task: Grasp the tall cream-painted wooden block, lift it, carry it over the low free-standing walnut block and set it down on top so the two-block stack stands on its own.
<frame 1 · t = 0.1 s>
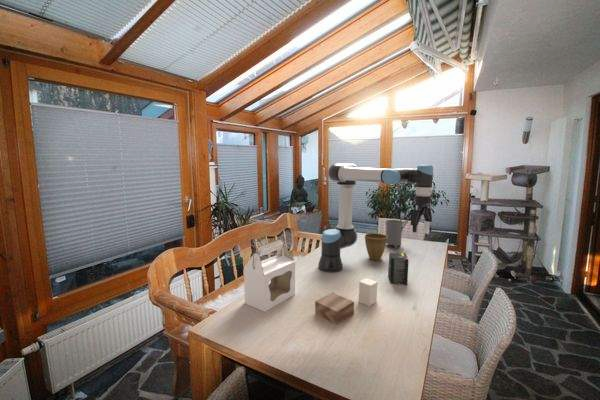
hand: (420, 235, 150), 28 cm above the table, fingers open, 13 cm apart
tampon box: (397, 280, 162), on the table
cream block: (367, 301, 138), on the table
gable box: (270, 299, 140), on the table
plant pot: (374, 258, 197), on the table
grey pitcher: (394, 246, 225), on the table
walnut block: (334, 314, 127), on the table
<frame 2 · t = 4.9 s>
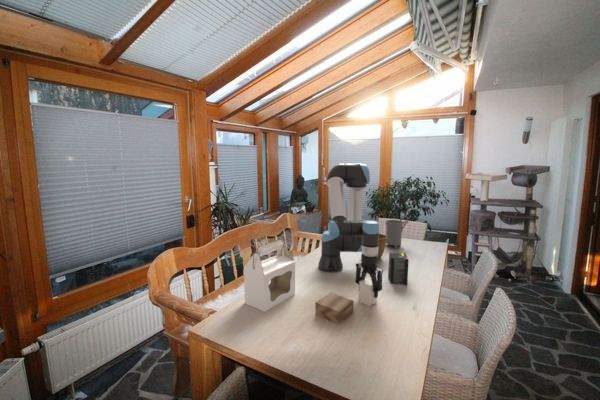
hand: (367, 300, 138), 0 cm above the table, fingers closed on cream block, 6 cm apart
cream block: (367, 301, 138), on the table, touching gripper
everything else where it was.
when the fingers open (8 cm above the table, at t = 10.1 s): cream block drops 2 cm, point 6 cm above the table.
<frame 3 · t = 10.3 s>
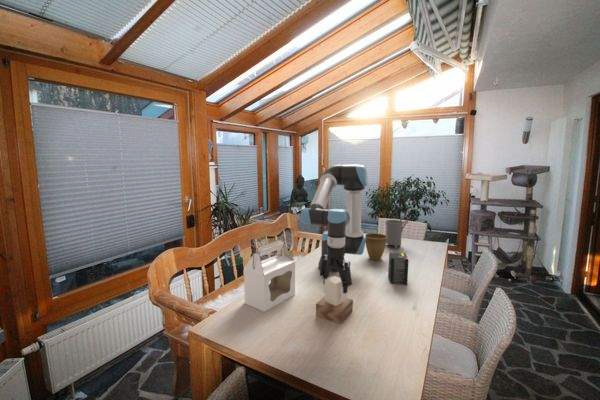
hand: (334, 295, 126), 8 cm above the table, fingers open, 8 cm apart
cream block: (334, 301, 126), point 6 cm above the table
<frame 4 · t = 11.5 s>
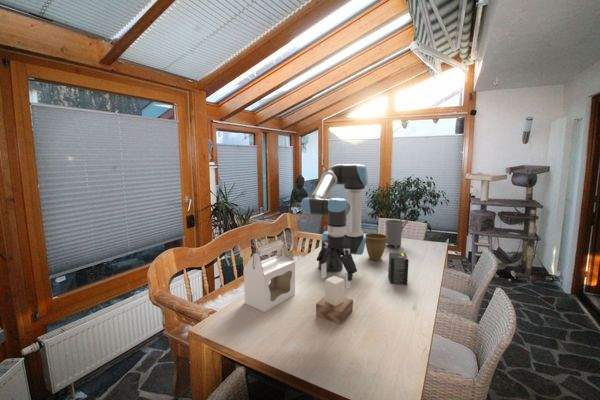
hand: (335, 282, 125), 14 cm above the table, fingers open, 13 cm apart
cream block: (334, 301, 126), point 6 cm above the table, touching walnut block
walnut block: (334, 314, 127), on the table, touching cream block
everything else where it was.
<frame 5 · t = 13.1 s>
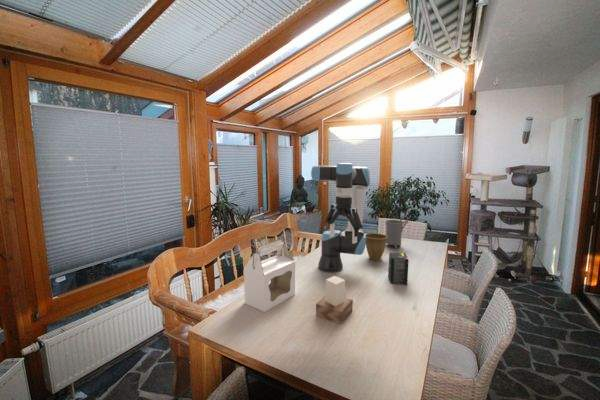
hand: (342, 239, 139), 29 cm above the table, fingers open, 13 cm apart
nothing on the table moved.
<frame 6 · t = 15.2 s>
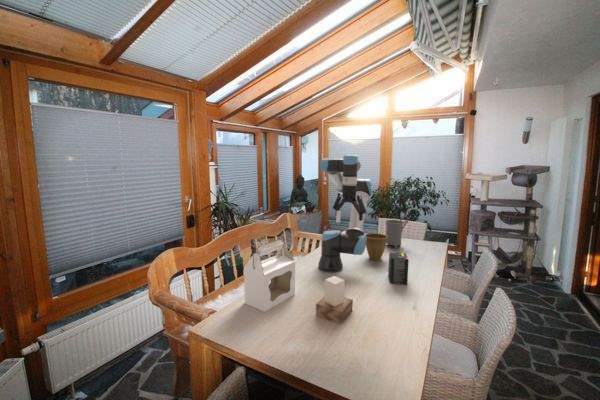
hand: (348, 224, 154), 33 cm above the table, fingers open, 13 cm apart
nothing on the table moved.
at the end: cream block inside the target area on the walnut block (0.1 cm from its centre), point 6.0 cm above the walnut block's base; cream block tilted 0°; the gripper is holding nothing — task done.
